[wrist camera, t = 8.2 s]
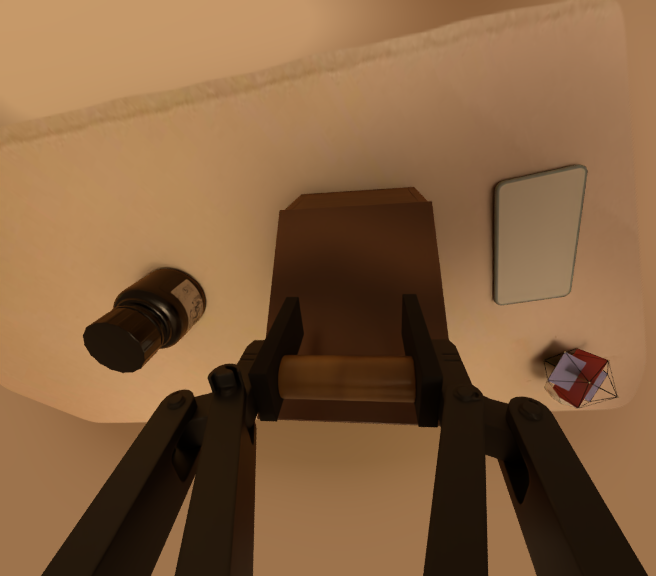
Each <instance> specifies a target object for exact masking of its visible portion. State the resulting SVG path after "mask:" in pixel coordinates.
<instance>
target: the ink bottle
mask: <svg viewBox="0 0 656 576" xmlns="http://www.w3.org/2000/svg"><path fill="white" fill-rule="evenodd" d="M204 309H205V297H204V294H203V291H202V289H201V288H200V286H199V285H198V284H197V283H196V282H195V281H194V280H193V279H192V278H191V277H189V276H188V275H186V274H184V273H182V272H180V271H177V270H173V269H158V270H156V271H153V272H152V273H150V274H149V275H147V276H145V277H144V278H142V279H141V280H139V281H138V282H136V283H134V284H133V285H131V286H130V287H128V288H126V289H125V290H124V291H122V292H121V293H120V294H119V295H118V296H117V298H116V300H115V302H114V306H113V309H112V310H111V311H110V312H108V313H107V314H105V315H104V316H102V317H101V318H99V319H98V320H96V321H95V322H93V323H92V324H91V325H89V326H88V327H86V330H85V332H84V334H83V338H84V345H85V347H86V348H87V350H88V351H89V353H90V355H91V356H93V357H94V358H95V359H96V360H97V361H98V362H99V363H100V364H102V365H104V366H106V367H107V368H109V369H111V370H115V371H119V372H121V373H124V372H135V371H136V370H138V369H141V368H142V367H143V366H144V365H145V364H146V363H147V362H148V361H149V360H150V359H151V357H152V356H153V355H154V354H155V353H156V352H157V351H158V350H159V349H163V348H168V347H171V346H173V345H174V344H176V343H177V342H178V341H179V340H180V339H181V338H182V337H183V336H184V335H185V334H186V333H187V332H188V331H189V330H190V329H191V328H192V326H193V325H194V324H195V323H196V322H197V321H198V320H199V318H200V317H201V316H202V314H203V312H204Z"/></svg>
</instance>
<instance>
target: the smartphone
mask: <svg viewBox="0 0 656 576" xmlns="http://www.w3.org/2000/svg"><path fill="white" fill-rule="evenodd" d="M586 179H587V168H586V167H585V166H584V165H573V166H568V167H564V168H559V169H555V170H550V171H545V172H541V173H536V174H532V175H527V176H523V177H518V178H513V179H509V180H504V181H501V182H500V183H498V184H497V186H496V188H495V217H494V301H495V302H496V304H498V305H508V304H515V303H522V302H529V301H537V300H544V299H551V298H558V297H564V296H566V295H568V294H569V293H570V292H571V287H572V280H573V273H574V266H575V259H576V251H577V244H578V237H579V230H580V222H581V215H582V208H583V201H584V194H585V186H586Z"/></svg>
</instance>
